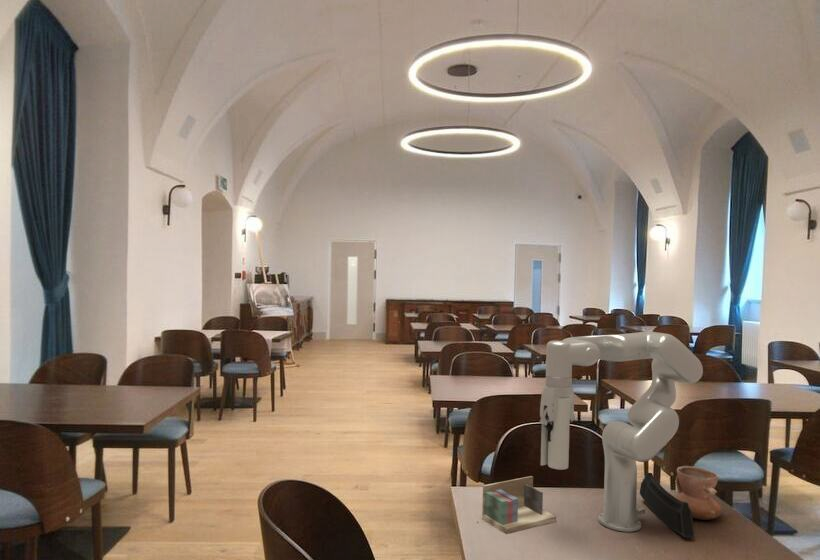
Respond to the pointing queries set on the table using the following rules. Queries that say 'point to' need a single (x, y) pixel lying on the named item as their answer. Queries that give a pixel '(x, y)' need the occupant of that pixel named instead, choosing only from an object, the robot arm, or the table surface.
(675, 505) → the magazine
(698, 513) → the ceramic jug
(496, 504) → the book rack
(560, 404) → the paper towel roll
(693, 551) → the table surface
